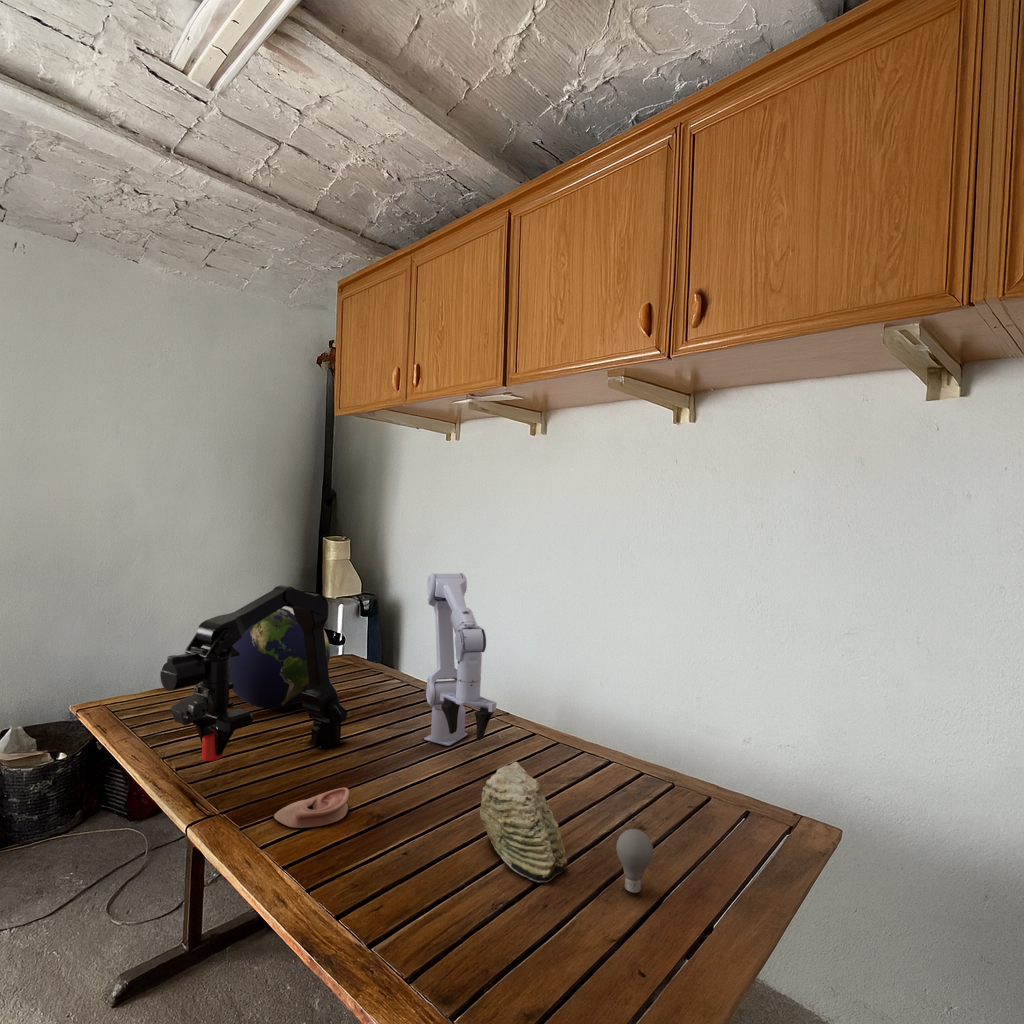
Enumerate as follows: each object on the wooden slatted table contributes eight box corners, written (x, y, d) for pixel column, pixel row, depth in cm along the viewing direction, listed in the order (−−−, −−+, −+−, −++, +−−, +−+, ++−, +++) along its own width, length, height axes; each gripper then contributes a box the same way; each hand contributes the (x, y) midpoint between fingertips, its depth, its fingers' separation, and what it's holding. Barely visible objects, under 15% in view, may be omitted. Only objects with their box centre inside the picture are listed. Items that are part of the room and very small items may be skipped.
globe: (289, 685, 209) (292, 594, 208) (348, 705, 191) (352, 606, 191) (199, 706, 185) (203, 604, 184) (258, 732, 167) (262, 619, 167)
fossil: (501, 827, 124) (504, 751, 124) (575, 868, 111) (578, 784, 111) (467, 843, 118) (470, 763, 118) (541, 889, 105) (545, 799, 105)
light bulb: (610, 879, 108) (613, 822, 108) (644, 879, 109) (647, 822, 109) (619, 902, 102) (622, 840, 102) (655, 901, 103) (658, 840, 103)
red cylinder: (198, 760, 133) (199, 740, 133) (206, 753, 137) (207, 732, 137) (218, 761, 133) (218, 740, 133) (225, 753, 137) (226, 733, 137)
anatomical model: (265, 803, 122) (297, 778, 133) (264, 823, 122) (296, 796, 133) (329, 813, 119) (356, 786, 130) (328, 833, 119) (355, 805, 130)
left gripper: (152, 679, 133) (150, 753, 133) (205, 697, 123) (202, 777, 123) (202, 669, 142) (200, 737, 143) (255, 684, 132) (252, 758, 133)
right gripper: (434, 677, 151) (431, 734, 151) (486, 688, 144) (484, 747, 144) (450, 671, 157) (448, 725, 157) (501, 681, 150) (499, 738, 150)
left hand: (212, 752), depth 135 cm, fingers closed on red cylinder, 4 cm apart
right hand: (466, 735), depth 151 cm, fingers open, 7 cm apart
